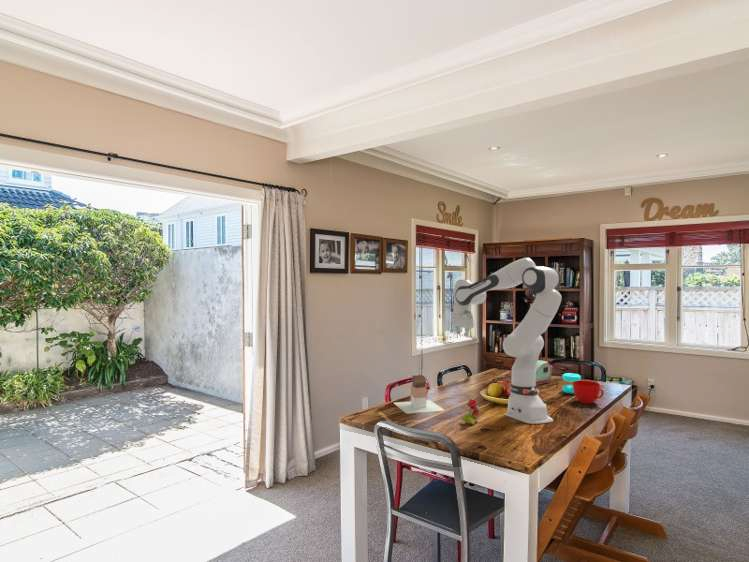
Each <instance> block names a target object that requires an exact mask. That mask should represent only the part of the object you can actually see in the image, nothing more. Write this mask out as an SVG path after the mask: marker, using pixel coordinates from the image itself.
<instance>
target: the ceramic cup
mask: <svg viewBox="0 0 749 562" xmlns="http://www.w3.org/2000/svg"><path fill="white" fill-rule="evenodd" d="M572 385H573V390H574V396H575V398H576V399H577V400H578V401H579V403H581V404H587V405H588V404H590V405H591V404H592V405H593V403H594V402H595V401H596V400H598V399H601V398H602V397H603V396H604V390H603V389H602V388H601V384H600V383H599V382H596V381H592V380H580V381H574V382H572Z"/></svg>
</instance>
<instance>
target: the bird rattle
mask: <svg viewBox="0 0 749 562" xmlns="http://www.w3.org/2000/svg"><path fill="white" fill-rule="evenodd" d="M466 405H467V407H469V410H468V412H467V413H466V412H465V413H464V414H463V415H464V416H462V417H461V421H463V422H464V423H465V424H469V423H471V424H470V425H474V426H475V425H476V423H477V422H478V419H480V416H481V414H482V413H481V408H480V407H479V406H478V405H479V403H478V401H477V399H472V398H469V400H468V402H467V403H466Z"/></svg>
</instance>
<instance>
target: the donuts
mask: <svg viewBox="0 0 749 562" xmlns="http://www.w3.org/2000/svg"><path fill="white" fill-rule="evenodd" d="M561 378H562V379H563V381H565V382H569V383H570V382H572V383H573V382H574V381H582V380H581V379H582V376H581V375H580V374H578V373H573V372H572V373H570V372H568V373H564V374H562V376H561ZM561 390H562V392H563V393H567V394H572V395H573V394H574V390H573V384H565V385H563V386H562V387H561ZM574 395H575V394H574Z"/></svg>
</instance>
